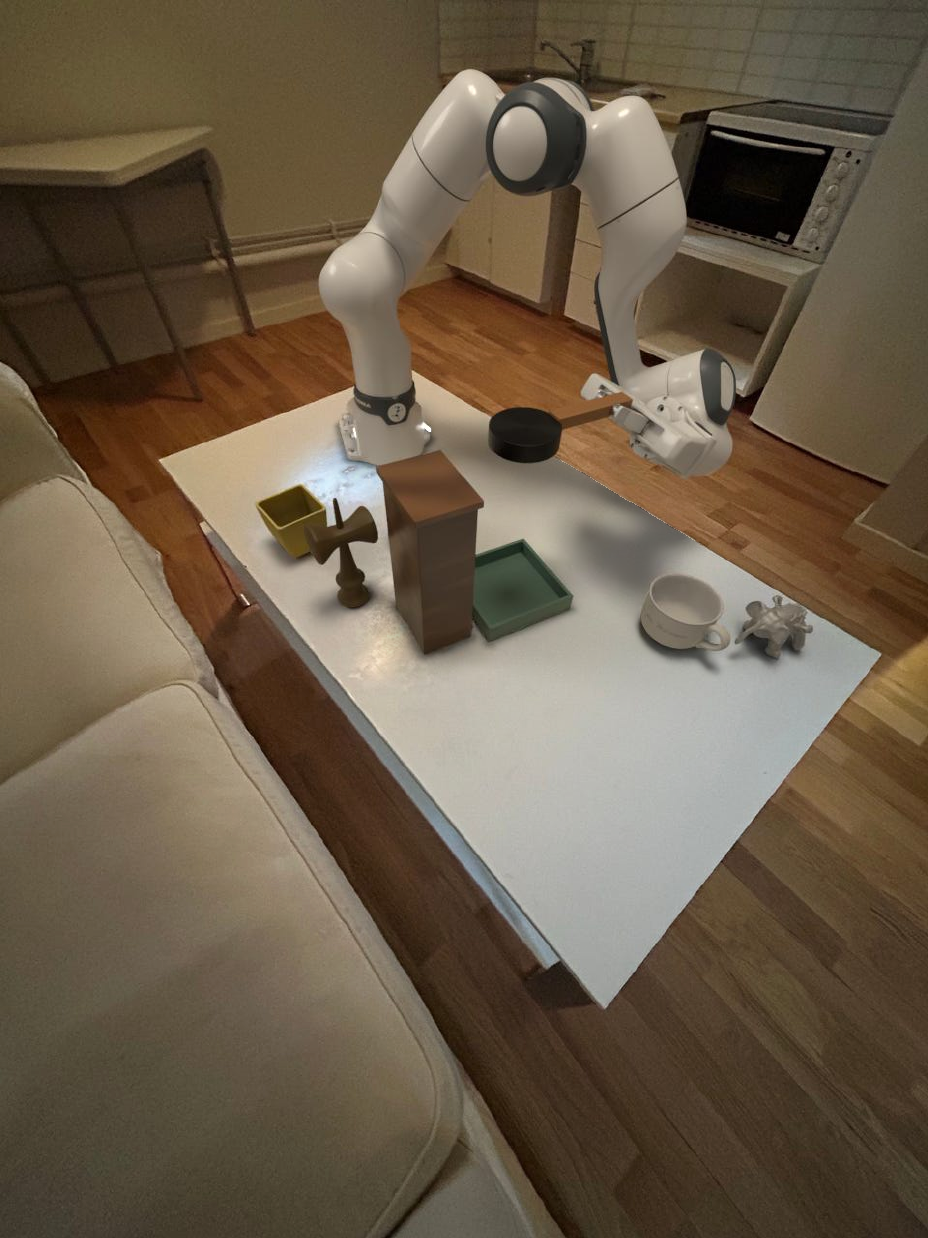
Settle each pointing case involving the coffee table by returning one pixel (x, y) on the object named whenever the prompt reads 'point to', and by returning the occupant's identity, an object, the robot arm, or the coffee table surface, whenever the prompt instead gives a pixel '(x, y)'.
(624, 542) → the coffee table surface
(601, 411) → the skillet
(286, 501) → the flower pot
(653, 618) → the teacup
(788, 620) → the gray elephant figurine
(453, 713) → the coffee table surface
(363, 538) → the kendama
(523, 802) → the coffee table surface
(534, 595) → the tray
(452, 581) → the stand
